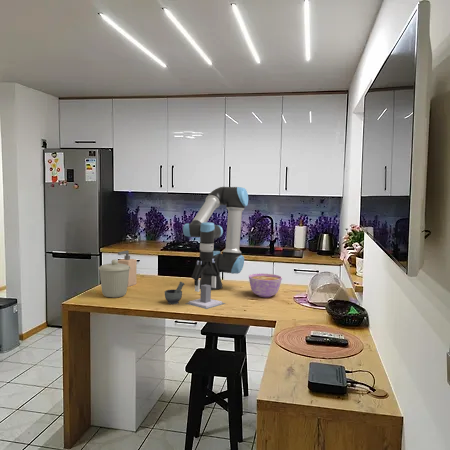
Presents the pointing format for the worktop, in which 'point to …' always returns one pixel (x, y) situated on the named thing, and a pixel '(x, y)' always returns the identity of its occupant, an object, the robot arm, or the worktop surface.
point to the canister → (114, 279)
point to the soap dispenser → (132, 264)
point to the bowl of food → (265, 284)
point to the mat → (204, 307)
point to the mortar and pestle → (174, 294)
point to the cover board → (213, 302)
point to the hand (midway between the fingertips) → (205, 289)
